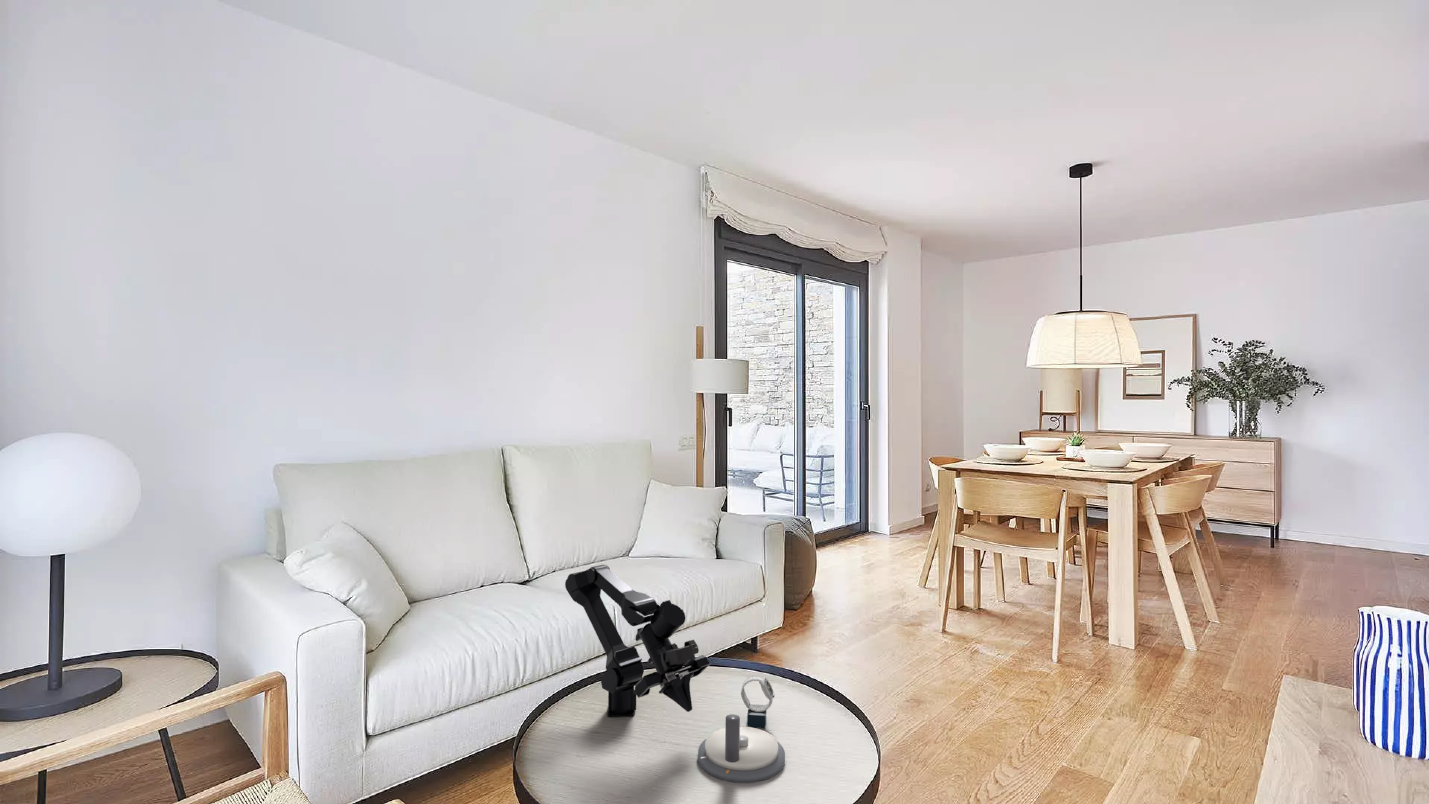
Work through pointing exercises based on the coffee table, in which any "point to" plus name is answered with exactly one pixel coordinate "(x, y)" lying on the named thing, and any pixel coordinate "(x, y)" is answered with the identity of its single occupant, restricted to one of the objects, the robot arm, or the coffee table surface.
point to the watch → (757, 712)
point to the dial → (741, 746)
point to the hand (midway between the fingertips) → (690, 710)
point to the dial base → (741, 775)
